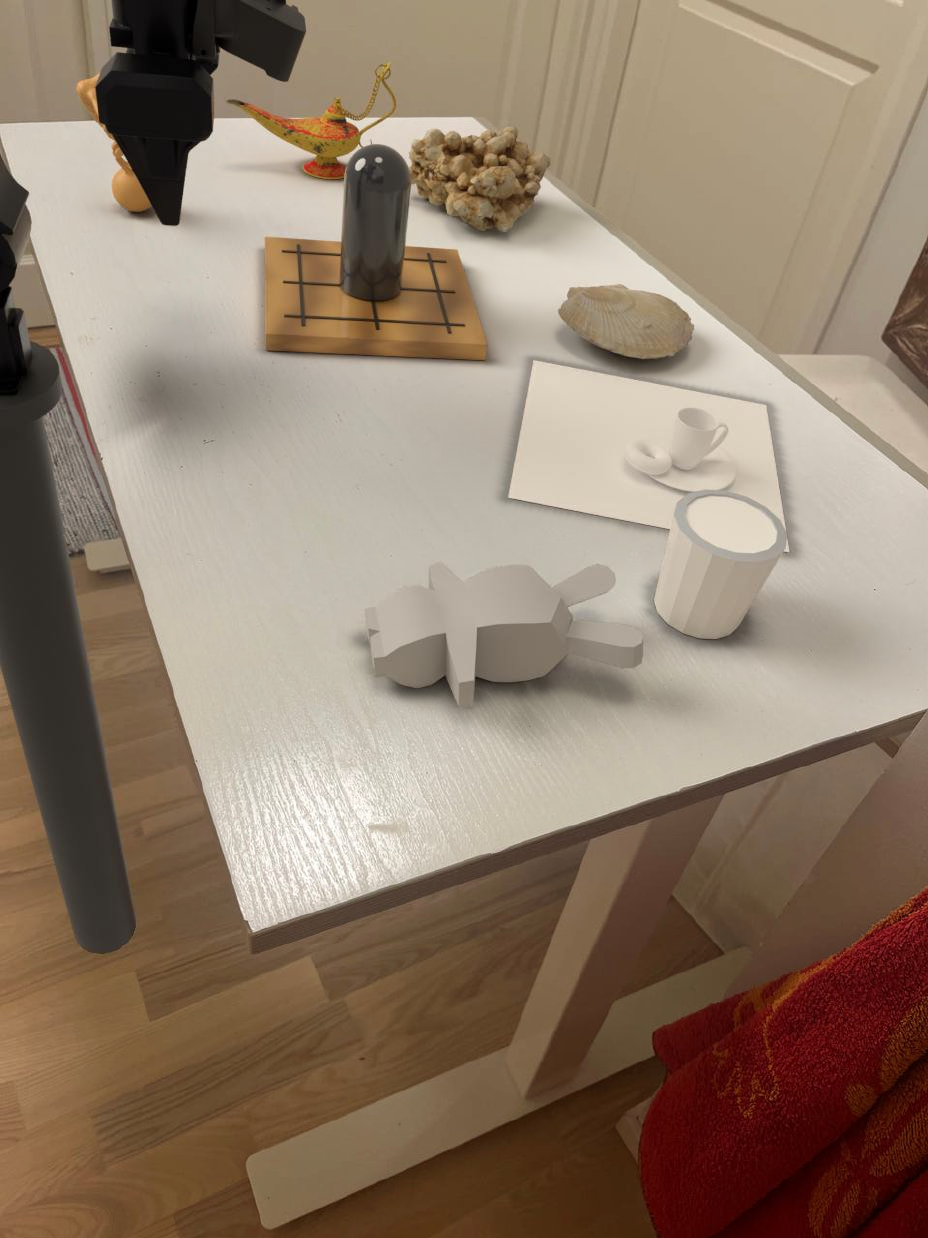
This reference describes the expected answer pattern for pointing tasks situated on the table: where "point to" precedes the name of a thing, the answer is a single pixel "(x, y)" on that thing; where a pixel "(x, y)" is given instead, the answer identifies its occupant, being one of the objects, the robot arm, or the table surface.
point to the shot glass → (716, 561)
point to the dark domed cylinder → (374, 223)
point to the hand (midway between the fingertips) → (174, 195)
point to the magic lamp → (321, 131)
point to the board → (368, 305)
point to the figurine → (125, 179)
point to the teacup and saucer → (637, 446)
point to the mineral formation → (478, 175)
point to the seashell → (627, 320)
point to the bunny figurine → (492, 628)
